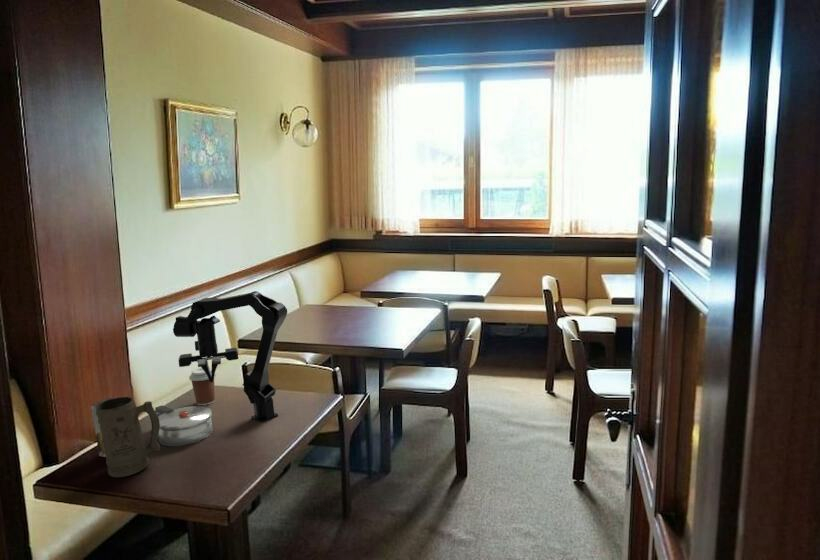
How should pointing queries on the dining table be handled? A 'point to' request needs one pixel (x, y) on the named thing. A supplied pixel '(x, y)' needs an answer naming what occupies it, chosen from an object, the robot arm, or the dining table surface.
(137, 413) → the beer stein
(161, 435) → the cooker pot
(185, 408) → the cooker lid
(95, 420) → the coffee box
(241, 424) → the dining table surface
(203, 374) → the coffee cup
